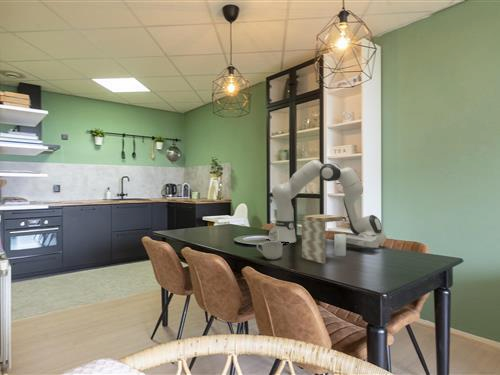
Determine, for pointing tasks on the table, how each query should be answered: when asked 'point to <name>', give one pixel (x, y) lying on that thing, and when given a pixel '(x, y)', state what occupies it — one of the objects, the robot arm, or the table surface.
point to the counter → (315, 236)
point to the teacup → (271, 249)
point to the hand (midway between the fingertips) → (349, 242)
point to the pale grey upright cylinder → (340, 244)
